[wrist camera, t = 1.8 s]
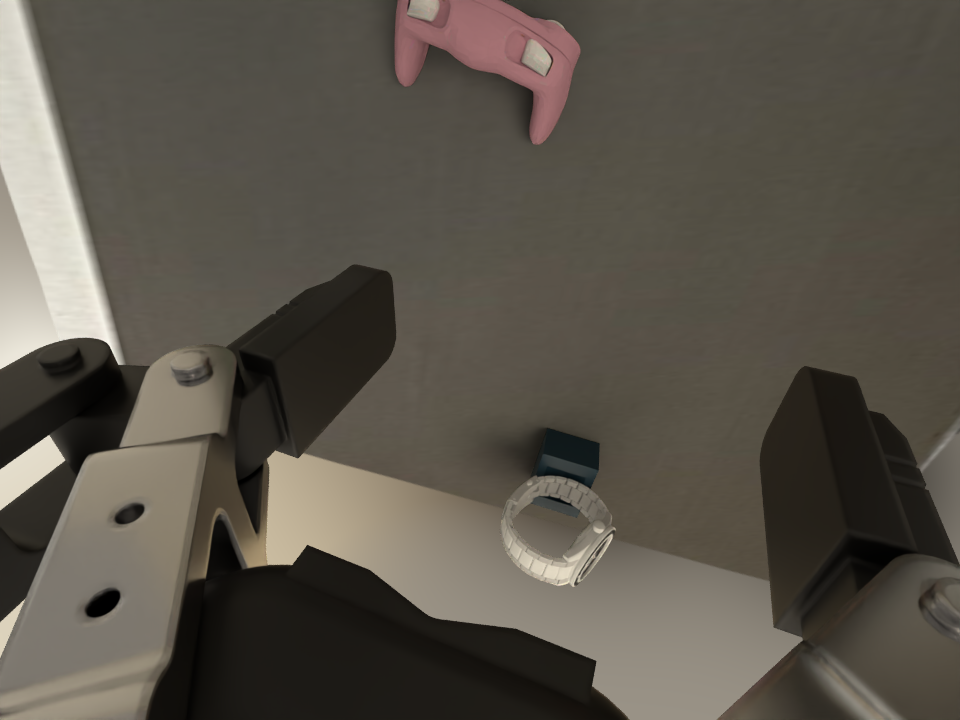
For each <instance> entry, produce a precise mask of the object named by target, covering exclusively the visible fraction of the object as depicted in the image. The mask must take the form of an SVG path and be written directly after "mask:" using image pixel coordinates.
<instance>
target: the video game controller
mask: <svg viewBox="0 0 960 720" xmlns="http://www.w3.org/2000/svg"><path fill="white" fill-rule="evenodd" d="M430 44H431V45H433V46H436V47H438V48H441V49H444V50H446V51H448V52H449V53H450V54H452V55H453V56H454V57H455V58H456V59H457V60H459V61H460V62H462V63H463V64H465V65H467V66H469V67H471V68H473V69H475V70H479V71H485V72H491V73H497V74H500V75H502V76H504V77H506V78H508V79H510V80H512V81H514V82H516V83H518V84H520V85H522V86H524V87H526V88H529V89H530V90H532V91H533V110H532V115H531V121H530V126H529V133H530V138H531V141H532V143H533V144H536V145H538V144H541V143H542V142H544V141H545V140H546V139H547V137H548V136H549V135H550V133H551V132H552V130H553V128H554V127H555V125H556V123H557V121H558V119H559V117H560V115H561V112H562V110H563V108H564V106H565V103H566V99H567V96H568V92H569V87H570V83H571V79H572V74H573V70H574V67H575V65H576V63H577V60H578V58H579V56H580V47H579V45H578V43H577V42H576V40H575V39H574V38H573V37H572V36H571V35H570V34H569V33H568V32H567V31H566V30H565V29H564V27H563V26H562V25H561V24H560V23H559V22H557V21H555V20H543V19H540V18H531V17H530V16H528V15H526V14H525V13H523V12H521V11H520V10H518V9H516V8H515V7H513V6H511V5H509V4H506V3H504V2H502V1H500V0H398V3H397V10H396V21H395V72H396V75H397V78H398V80H399V82H400V83H401V84H402V85H403V86H406V87H408V86H410V85H412V84H413V83H414V82H415V80H416V78H417V76H418V75H419V73H420V71H421V69H422V67H423V64H424V61H425V58H426V55H427V51H428V48H429V45H430Z"/></svg>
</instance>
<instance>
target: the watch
mask: <svg viewBox="0 0 960 720" xmlns="http://www.w3.org/2000/svg"><path fill="white" fill-rule="evenodd" d="M599 445H600V444H599V443H595V442H592V441H589V440H585V439H582V438H579V437H575V436H572V435H569V434H565V433H562V432H558V431H555V430H552V429H548V428H547V431H546V434H545V437H544V440H543V443H542V445H541V448H540V451H539V454H538V457H537V460H536V462H535V465H534V468H533V471H532V474H531V478H530V479H528V480H527V481H525V482H524V483H523V484H521V485H520V486H519V487H518V488H517V489H516V490H515V491H514V492H513V493H512V495H511V496H510V497H509V499H508V500H507V503H506V505H505V508H504V511H503V514H502V518H501V519H502V523H501V528H500V534H501V540H502V543H503V545H504V548H505V550H506V552H507V554H508V555H509V556H510V557H511V559H512V561H513V562H514V563H515V564H516V565H517V566H518V567H520V569H522V570H523V571H524V572H526V573H527V574H529V575H531V574H532V577H534V578H536V579H539V580H541V581H545V582H548V583H552V584H554V585H555V586H560V585H564V584H567V583H569V582H570V584H571V585H572V586H573V587H574V586H576V585H578V584H579V583H580V582H581V581H582V580H583V579H584V578H585V577H586V575H588V573H589V572H590V571H591V570H592V569H593V567H594V566H595V565H596V563H597V562H598V561H599V559H600V558H601V556H602V555H603V553H604V552H605V550H606V549H607V547H608V545H609V544H610V542H611V540H612V538H613V536H614V533H615V528H614V527H613V526H611V521H612V515H611V514H610V513H609V511H608V509H607V508H606V505H605V504H604V503H603V501H602V500H601V499H599V497H598V496H597V495H596V494H595V493H594V492H593V491H592V490H590V488H591V486H592V484H593V482H594V479H595V477H596V475H597V473H598V471H599ZM589 490H590V491H589ZM530 503H531V504H534V505H537V506H541V507H544V508H547V509H550V510H553V511H557V512H560V513H563V514H566V515H569V516H573V517H576V518H577V517H578V515H579V513H580V511H581V512H582V513H583V514H584V515H585V516H586V517H587V518H589V519H588V520H589V521H590V524H588V525H587V526H586V527H585V528H584V530H583V531H582V532H581V533H580V534H579V535H578V537H577V538H576V540H575V541H574V542H573V544H572V545H571V546H570V548H569V550H568V551H567V552H565V554H564V555H563V559H560V558H554V559H553V557H552V556H549V555H546V554H544V553H541V554H540V552H539V551H538V550H536V549H535V548H533V547H532V546H529V544H528V543H527V542H526V541H525V540H523V538H522V537H519V534H518V533H517V531H516V529H515V528H513V523H512V520H513V519H514V517H515V516H516V515H517V514H518V512H519V511H521V510H522V509H523V508H524V507H525V506H527V505H528V504H530ZM528 546H529V547H528ZM539 555H540V556H539ZM533 559H534V560H533ZM532 561H533V562H532ZM531 563H532V564H531ZM544 569H545V570H544ZM532 572H533V573H532ZM544 579H545V580H544Z"/></svg>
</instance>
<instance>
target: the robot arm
mask: <svg viewBox="0 0 960 720" xmlns="http://www.w3.org/2000/svg"><path fill="white" fill-rule="evenodd" d="M395 340H396V323H395V309H394V294H393V281H392V277H391V275H390V274H389V273H388V272H387V271H383V270H379V269H374V268H370V267H365V266H361V265H352V266H350V267H349V268H347V269H346V270H345V271H343V272H342V273H341V274H339V275H338V276H337V277H335V278H334V279H332V280H331V281H328V282H325V283H323V284H320V285H317V286H315V287H312V288H309V289H307V290H305V291H304V292H302V293H301V294H299V295H298V296H297V297H295V298H294V299H292V300H291V301H290V303H289V304H285V305H284V306H283V307H281V308H280V309H278V310H277V311H276V314H272V315H270V316H269V317H267V318H266V319H265V320H263V321H262V322H260V323H259V324H258V325H256V326H255V327H253V328H252V329H251V330H249V331H248V332H246V333H245V334H244V335H242V336H241V337H239V338H238V339H237V340H235V341H234V342H232V343H231V344H230V345H228V346H227V347H223V346H219V345H212V344H203V345H194V346H189V347H184V348H181V349H178V350H175V351H173V352H170V353H168V354H166V355H164V356H163V357H161V358H160V359H158V360H157V361H155V362H154V363H153V364H152V365H151V366H131V365H118V363H117V361H116V359H115V357H114V355H113V353H112V351H111V349H110V347H109V345H108V344H107V343H106V342H104V341H102V340H99V339H94V338H75V339H68V340H63V341H59V342H55V343H52V344H49V345H46V346H44V347H41V348H39V349H37V350H35V351H33V352H31V353H29V354H27V355H25V356H24V357H22V358H20V359H18V360H17V361H15V362H13V363H11V364H9V365H7V366H6V367H4V368H2V369H0V469H1V468H3V467H4V466H6V465H7V464H8V463H10V462H11V461H13V460H14V459H15V458H17V457H18V456H20V455H21V454H22V453H24V452H25V451H27V450H28V449H30V448H31V447H32V446H34V445H35V444H37V443H38V442H40V441H41V440H42V439H44V438H45V437H47V436H48V435H50V437H51V438H52V440H53V441H54V443H55V444H56V446H57V447H58V449H59V451H60V452H61V454H62V455H63V457H64V458H65V461H64V462H63V463H62V464H60V465H59V466H58V467H56V468H55V469H54V470H53V471H51V472H50V473H49V474H48V475H46V476H45V477H43V478H42V479H41V480H40V481H38V482H37V483H35V484H34V485H33V486H32V487H30V488H29V489H28V490H26V491H25V492H24V493H22V494H21V495H20V496H19V497H17V498H16V499H15V500H13V501H12V502H11V503H9V504H8V505H7V506H6V507H4V508H3V509H2V510H0V622H1V621H2V620H3V619H4V618H5V617H6V616H7V615H8V614H9V613H10V612H11V611H13V609H15V608H16V607H17V606H18V605H19V604H20V603H21V602H22V601H23V600H24V599H25V598H26V599H25V601H24V604H23V606H22V608H21V611H20V613H19V615H18V618H17V620H16V622H15V625H14V627H13V630H12V632H11V634H10V637H9V639H8V641H7V644H6V646H5V648H4V651H3V653H2V656H1V658H0V720H629V719H628V717H627V716H626V715H625V714H624V713H623V712H622V711H621V710H620V709H619V708H617V707H616V706H615V705H614V704H613V703H612V702H611V701H610V700H609V699H608V698H607V697H605V696H604V695H603V694H602V693H600V692H599V691H598V690H596V689H595V688H594V687H592V683H593V677H594V672H595V666H596V661H595V660H593V659H590V658H588V657H585V656H583V655H580V654H578V653H575V652H573V651H570V650H568V649H565V648H563V647H560V646H558V645H555V644H553V643H550V642H547V641H545V640H543V639H540V638H538V637H535V636H533V635H530V634H528V633H525V632H523V631H520V630H518V629H513V628H505V627H497V626H489V625H481V624H473V623H465V622H457V621H449V620H441V619H436V618H433V617H430V616H428V615H427V614H425V613H424V612H422V611H421V610H420V609H419V608H417V607H416V606H415V605H414V604H412V603H411V602H410V601H409V600H407V599H406V598H405V597H403V596H402V595H401V594H400V593H398V592H397V591H396V590H395V589H393V588H392V587H391V586H389V585H388V584H387V583H386V582H384V581H383V580H382V579H380V578H379V577H378V576H377V575H375V574H374V573H373V572H372V571H370V570H368V569H366V568H363V567H361V566H358V565H356V564H353V563H351V562H348V561H346V560H343V559H341V558H338V557H336V556H333V555H331V554H328V553H326V552H323V551H321V550H319V549H316V548H314V547H311V546H309V545H307V546H306V548H305V549H304V550H303V552H302V553H301V554H300V556H299V557H298V558H297V560H296V561H295V562H294V564H293V565H268V564H267V556H266V533H267V510H268V487H269V465H268V462H267V458H268V457H269V456H270V455H271V454H272V453H273V452H274V451H275V450H276V451H279V452H281V453H284V454H287V455H290V456H293V457H296V458H299V457H300V456H301V455H302V454H303V453H304V451H305V450H306V449H307V448H308V447H309V446H310V445H311V444H312V443H313V442H314V440H315V439H316V438H317V437H318V436H319V435H320V434H321V433H322V432H323V430H324V429H325V428H326V427H327V426H328V425H329V424H330V423H331V422H332V421H333V419H334V418H335V417H336V416H337V415H338V414H339V413H340V412H341V411H342V410H343V408H344V407H345V406H346V405H347V404H348V403H349V402H350V401H351V400H352V399H353V397H354V396H355V395H356V394H357V393H358V392H359V391H360V390H361V389H362V387H363V386H364V385H365V384H366V383H367V382H368V381H369V380H370V379H371V378H372V376H373V375H374V374H375V373H376V372H377V371H378V370H379V369H380V368H381V367H382V365H383V364H384V363H385V362H386V361H387V360H388V359H389V357H390V355H391V353H392V351H393V348H394V345H395ZM916 465H917V462H916V459H915V457H914V455H913V452H912V450H911V448H910V445H909V443H908V440H907V438H906V437H905V436H904V435H903V434H902V433H901V432H900V431H899V430H898V429H897V428H896V427H895V426H894V425H893V424H892V423H891V422H890V421H889V420H888V418H887V417H886V416H885V415H884V414H881V413H877V412H873V411H868V408H867V405H866V403H865V400H864V397H863V394H862V391H861V388H860V386H859V383H858V381H857V379H856V378H855V377H852V376H848V375H843V374H839V373H834V372H830V371H825V370H821V369H816V368H812V367H807V366H804V367H803V368H801V369H800V370H799V371H798V373H797V374H796V376H795V378H794V380H793V382H792V384H791V385H790V387H789V389H788V391H787V393H786V395H785V397H784V399H783V401H782V403H781V405H780V407H779V408H778V410H777V412H776V414H775V416H774V418H773V420H772V422H771V424H770V426H769V428H768V430H767V432H766V434H765V437H764V440H763V443H762V448H761V453H760V472H761V483H762V495H763V507H764V519H765V531H766V542H767V554H768V566H769V578H770V588H771V589H770V590H771V601H772V613H773V624H774V628H777V629H780V630H783V631H785V632H788V633H791V634H794V635H797V636H800V637H802V638H803V641H802V642H800V643H799V644H798V645H797V646H796V647H794V648H793V649H792V650H791V651H790V652H789V653H788V654H787V655H786V656H785V657H784V658H782V659H781V660H780V661H779V662H778V663H777V664H776V665H775V666H774V667H773V668H772V669H771V670H770V671H768V672H767V673H766V674H765V675H764V676H763V677H762V678H761V679H760V680H759V681H758V682H757V683H756V684H755V685H754V686H752V687H751V688H750V689H749V690H748V691H747V692H746V693H745V694H744V695H743V696H742V697H741V698H740V699H738V700H737V701H736V702H735V703H734V704H733V705H732V706H731V707H730V708H729V709H728V710H727V711H726V712H725V713H723V714H722V715H721V716H720V717H719V718H718V719H717V720H960V564H959V562H958V560H957V557H956V555H955V552H954V550H953V548H952V545H951V543H950V540H949V538H948V536H947V533H946V531H945V529H944V526H943V524H942V522H941V519H940V517H939V514H938V512H937V509H936V507H935V505H934V502H933V500H932V498H931V495H930V493H929V490H926V489H925V486H926V483H925V481H924V479H923V476H922V474H921V471H920V469H919V468H916Z"/></svg>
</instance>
